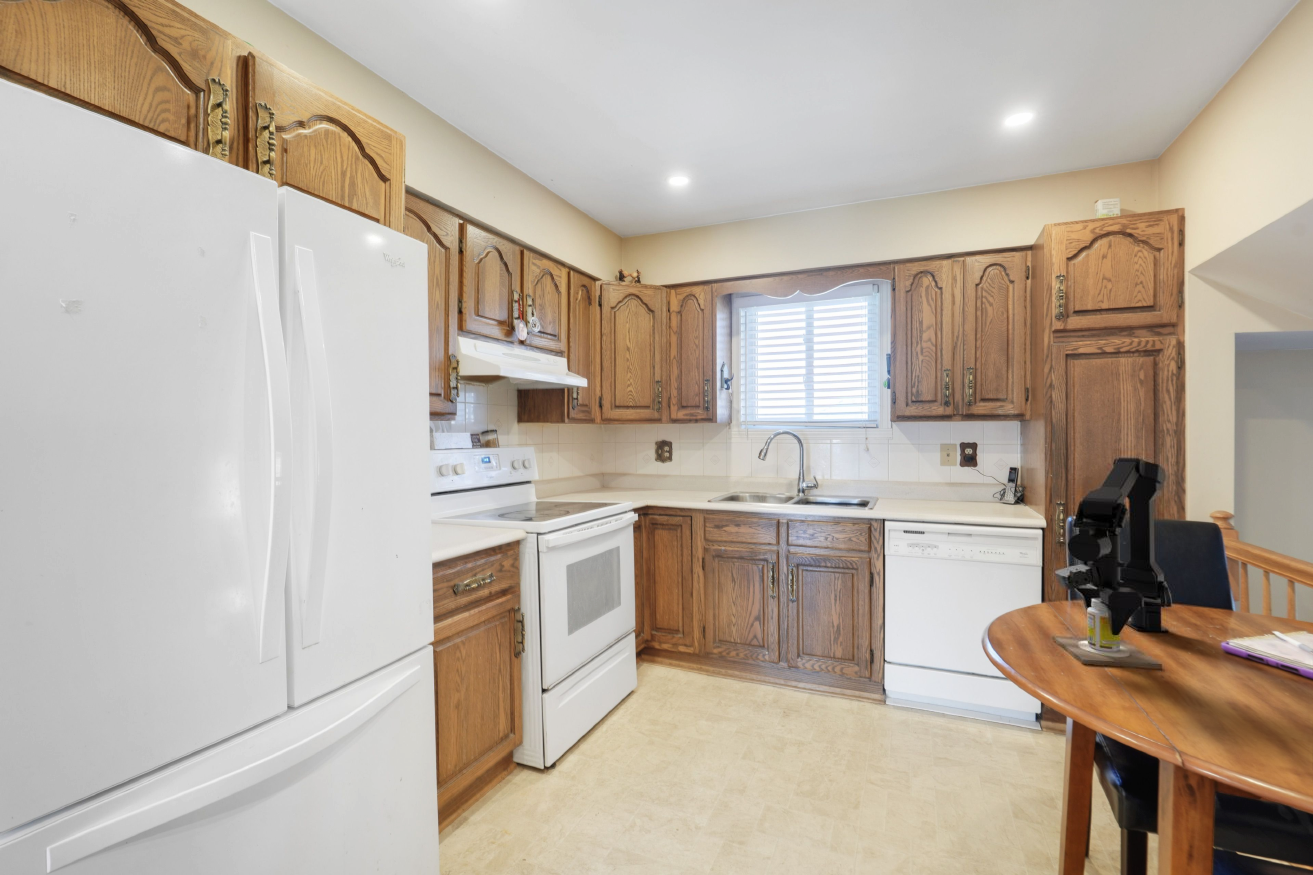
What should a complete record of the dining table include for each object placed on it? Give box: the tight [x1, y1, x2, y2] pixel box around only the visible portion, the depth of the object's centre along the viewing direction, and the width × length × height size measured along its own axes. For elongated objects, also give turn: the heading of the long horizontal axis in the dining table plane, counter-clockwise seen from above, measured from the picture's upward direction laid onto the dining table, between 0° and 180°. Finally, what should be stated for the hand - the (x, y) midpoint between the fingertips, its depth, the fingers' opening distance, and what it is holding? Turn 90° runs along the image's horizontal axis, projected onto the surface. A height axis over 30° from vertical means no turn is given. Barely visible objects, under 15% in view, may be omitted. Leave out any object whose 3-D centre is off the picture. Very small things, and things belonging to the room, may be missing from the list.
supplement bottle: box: [1086, 598, 1121, 652], centre depth 125 cm, size 6×6×10 cm
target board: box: [1052, 635, 1163, 670], centre depth 125 cm, size 14×14×1 cm
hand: (1103, 627), depth 125 cm, fingers open, 9 cm apart
